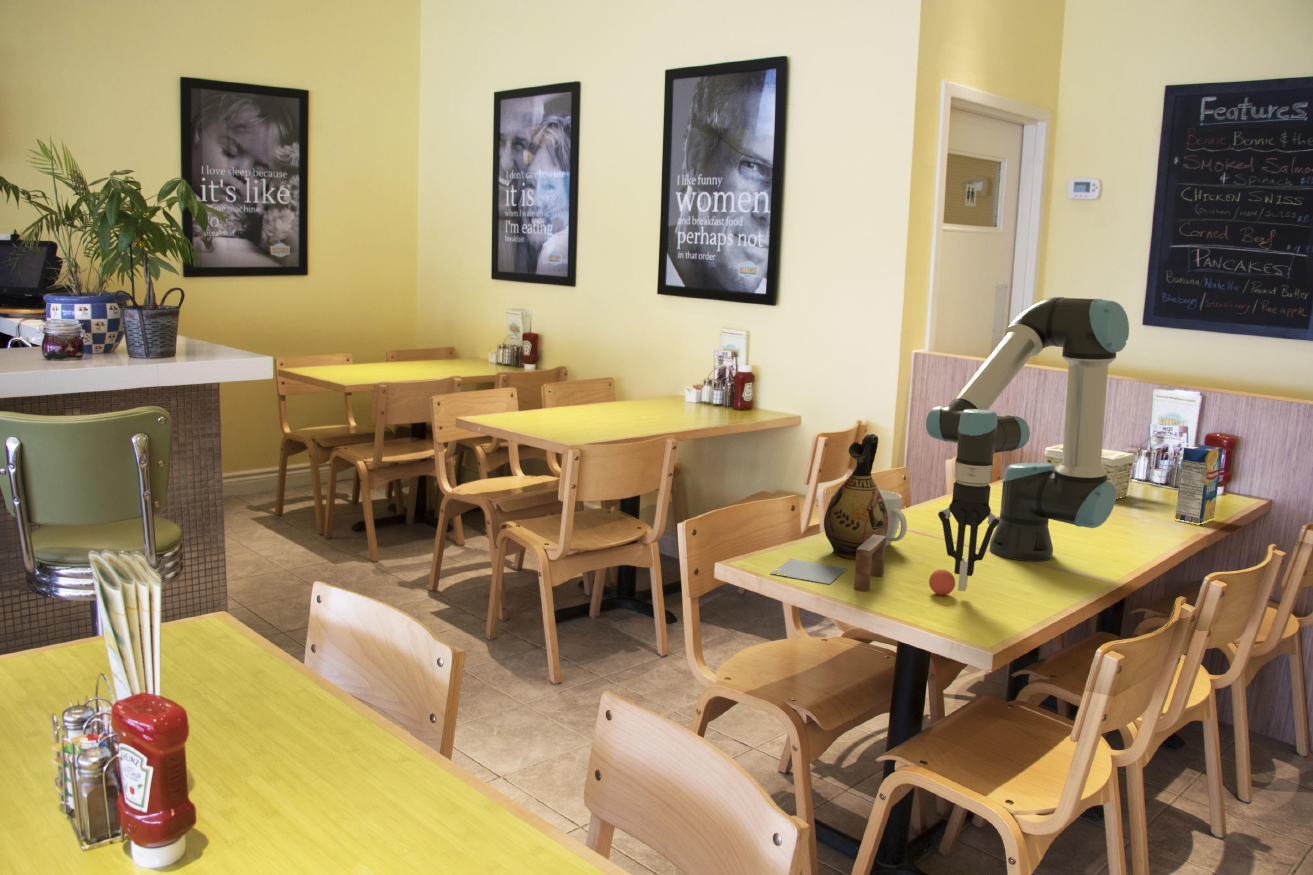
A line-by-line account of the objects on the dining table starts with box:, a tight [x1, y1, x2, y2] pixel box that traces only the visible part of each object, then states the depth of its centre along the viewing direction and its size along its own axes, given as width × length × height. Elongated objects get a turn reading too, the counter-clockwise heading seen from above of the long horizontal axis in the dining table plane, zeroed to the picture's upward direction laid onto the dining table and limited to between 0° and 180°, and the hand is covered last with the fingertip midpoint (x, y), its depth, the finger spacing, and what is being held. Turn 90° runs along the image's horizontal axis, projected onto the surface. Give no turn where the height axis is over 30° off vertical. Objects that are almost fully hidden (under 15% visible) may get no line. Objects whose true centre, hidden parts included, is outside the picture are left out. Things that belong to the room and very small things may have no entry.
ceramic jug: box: [823, 433, 888, 560], centre depth 251 cm, size 17×15×30 cm
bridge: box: [853, 534, 887, 592], centre depth 231 cm, size 3×14×9 cm, turn 154°
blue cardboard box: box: [1174, 444, 1224, 523], centre depth 302 cm, size 7×11×22 cm, turn 132°
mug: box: [879, 489, 908, 547], centre depth 262 cm, size 15×11×13 cm
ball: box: [928, 569, 956, 596], centre depth 224 cm, size 6×6×6 cm
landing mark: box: [769, 558, 848, 586], centre depth 237 cm, size 14×14×1 cm
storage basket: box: [1043, 443, 1136, 500], centre depth 335 cm, size 24×16×15 cm
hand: (962, 589), depth 222 cm, fingers closed
